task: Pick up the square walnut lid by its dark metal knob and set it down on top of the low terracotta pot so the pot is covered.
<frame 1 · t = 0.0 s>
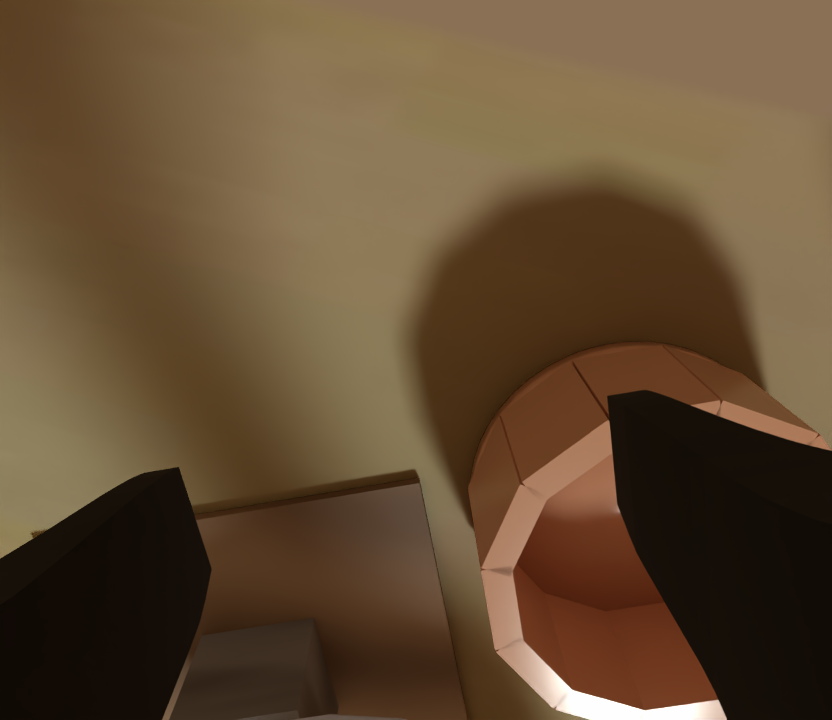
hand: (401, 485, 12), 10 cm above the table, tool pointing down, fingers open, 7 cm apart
pot: (622, 486, 23), on the table
lid: (276, 651, 26), on the table
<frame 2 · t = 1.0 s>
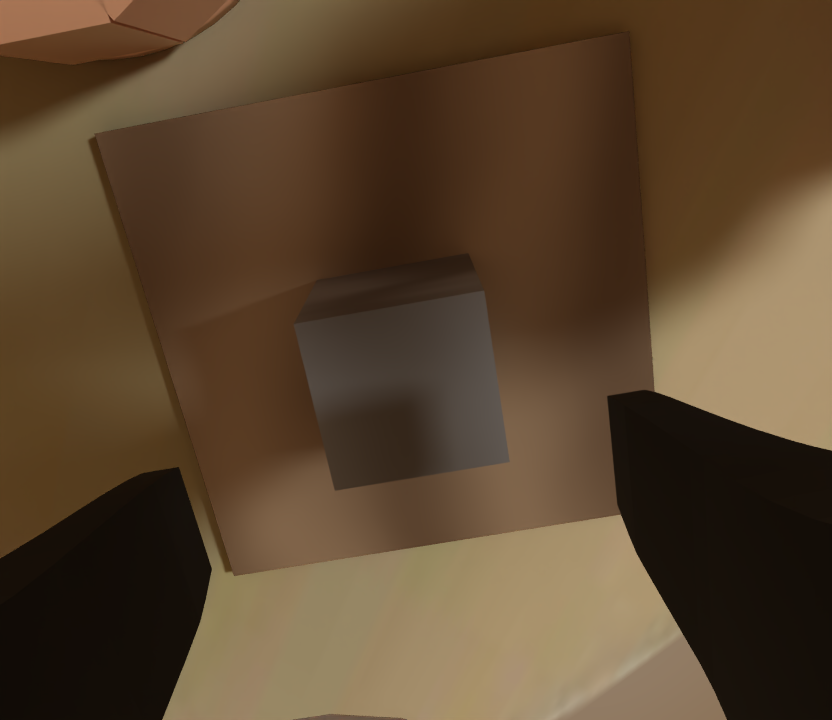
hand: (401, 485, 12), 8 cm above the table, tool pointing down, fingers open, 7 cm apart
lid: (406, 327, 20), on the table
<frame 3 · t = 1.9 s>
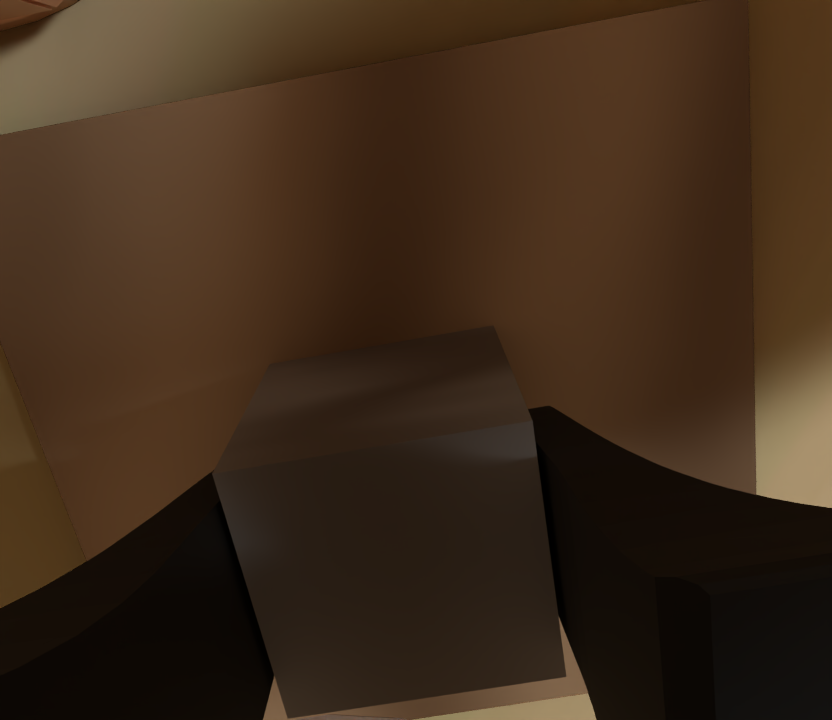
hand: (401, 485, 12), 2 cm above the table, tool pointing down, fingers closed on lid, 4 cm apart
lid: (401, 423, 14), on the table, touching gripper
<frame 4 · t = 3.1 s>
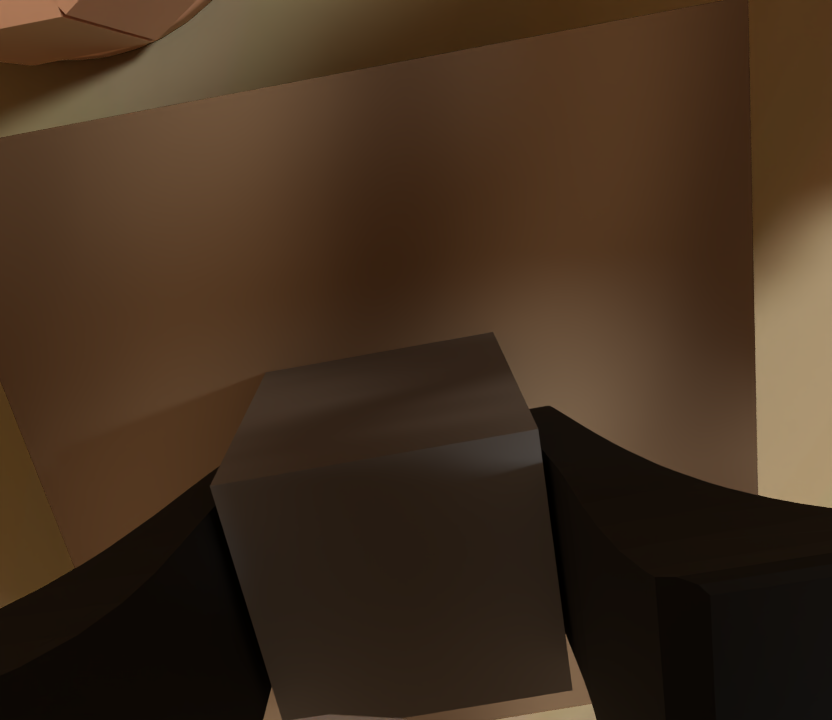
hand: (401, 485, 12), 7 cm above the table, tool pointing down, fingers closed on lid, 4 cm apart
lid: (399, 431, 14), point 4 cm above the table, touching gripper
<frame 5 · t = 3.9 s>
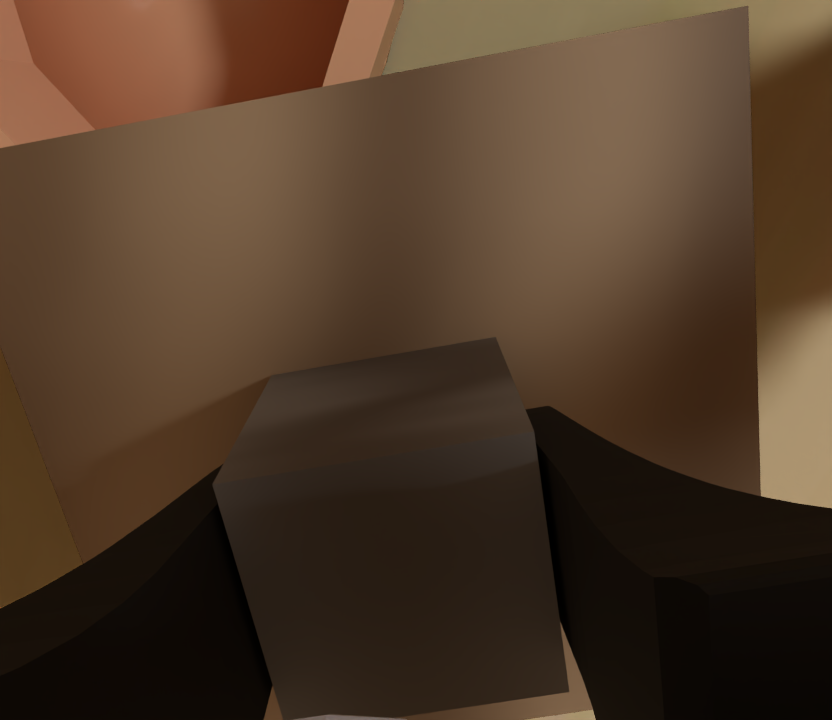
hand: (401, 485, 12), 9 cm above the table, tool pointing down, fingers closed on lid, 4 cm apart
lid: (403, 435, 14), point 7 cm above the table, touching gripper
when the fingers open (8 cm above the table, at t = 5.4 s): lid stays where it is, resting on pot.
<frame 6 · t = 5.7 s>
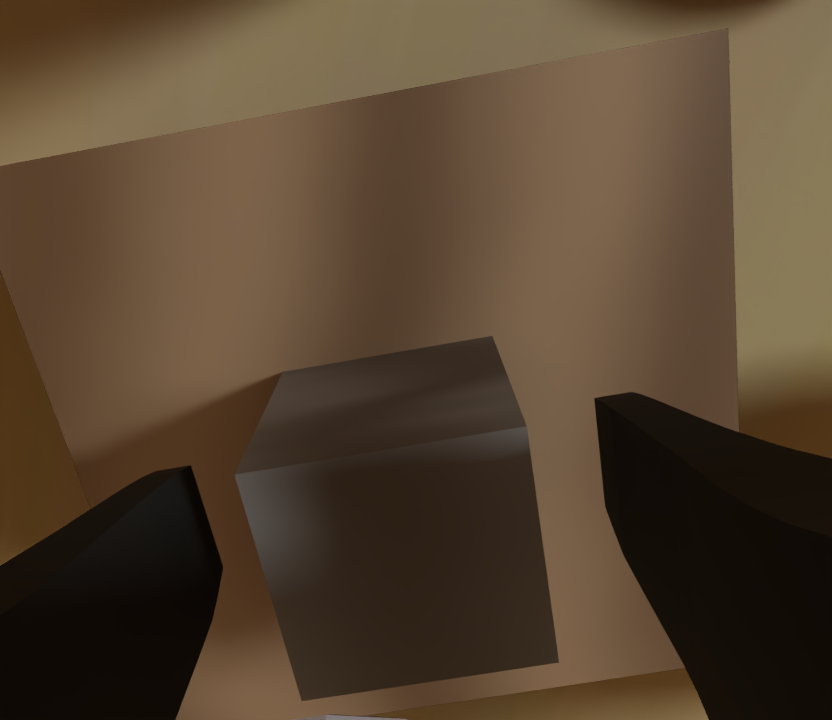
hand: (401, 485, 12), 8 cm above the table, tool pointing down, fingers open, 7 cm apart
lid: (405, 426, 15), point 5 cm above the table, touching pot
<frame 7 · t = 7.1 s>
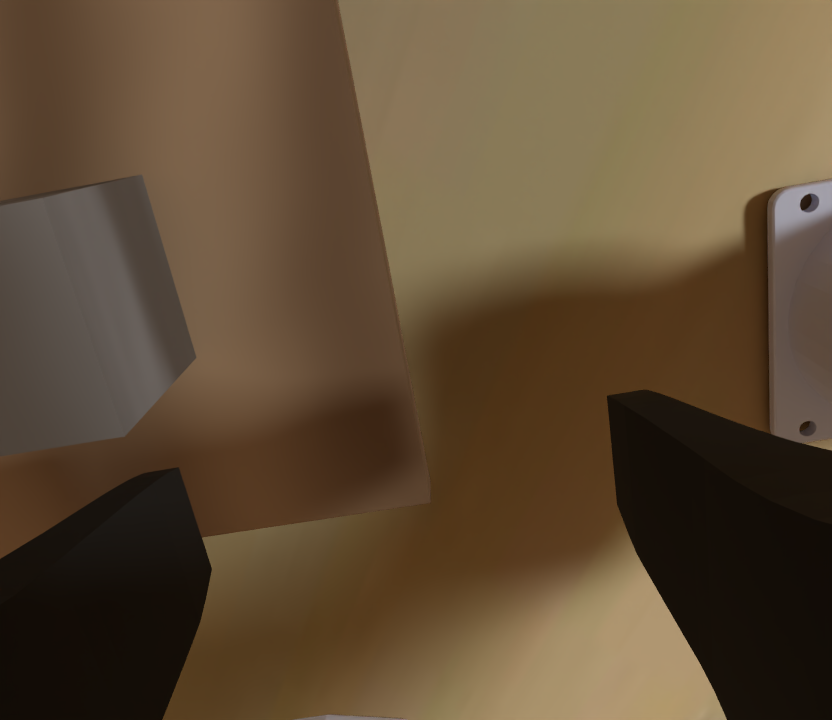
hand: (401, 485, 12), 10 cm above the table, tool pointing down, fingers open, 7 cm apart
lid: (100, 275, 16), point 5 cm above the table, touching pot
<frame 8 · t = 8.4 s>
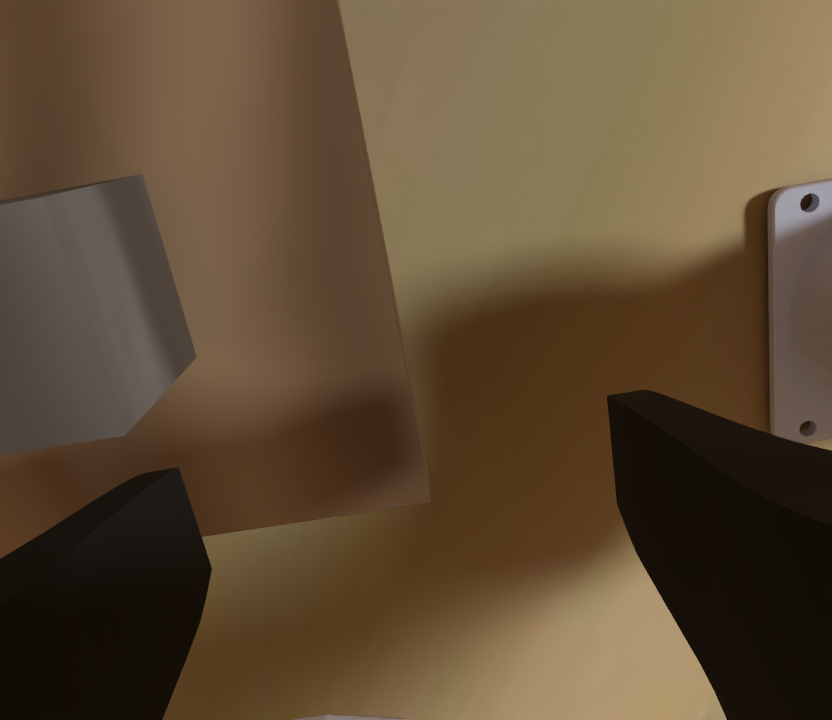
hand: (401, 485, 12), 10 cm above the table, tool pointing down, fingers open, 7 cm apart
lid: (101, 274, 16), point 5 cm above the table, touching pot
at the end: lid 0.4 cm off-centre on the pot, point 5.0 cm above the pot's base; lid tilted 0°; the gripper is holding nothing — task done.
